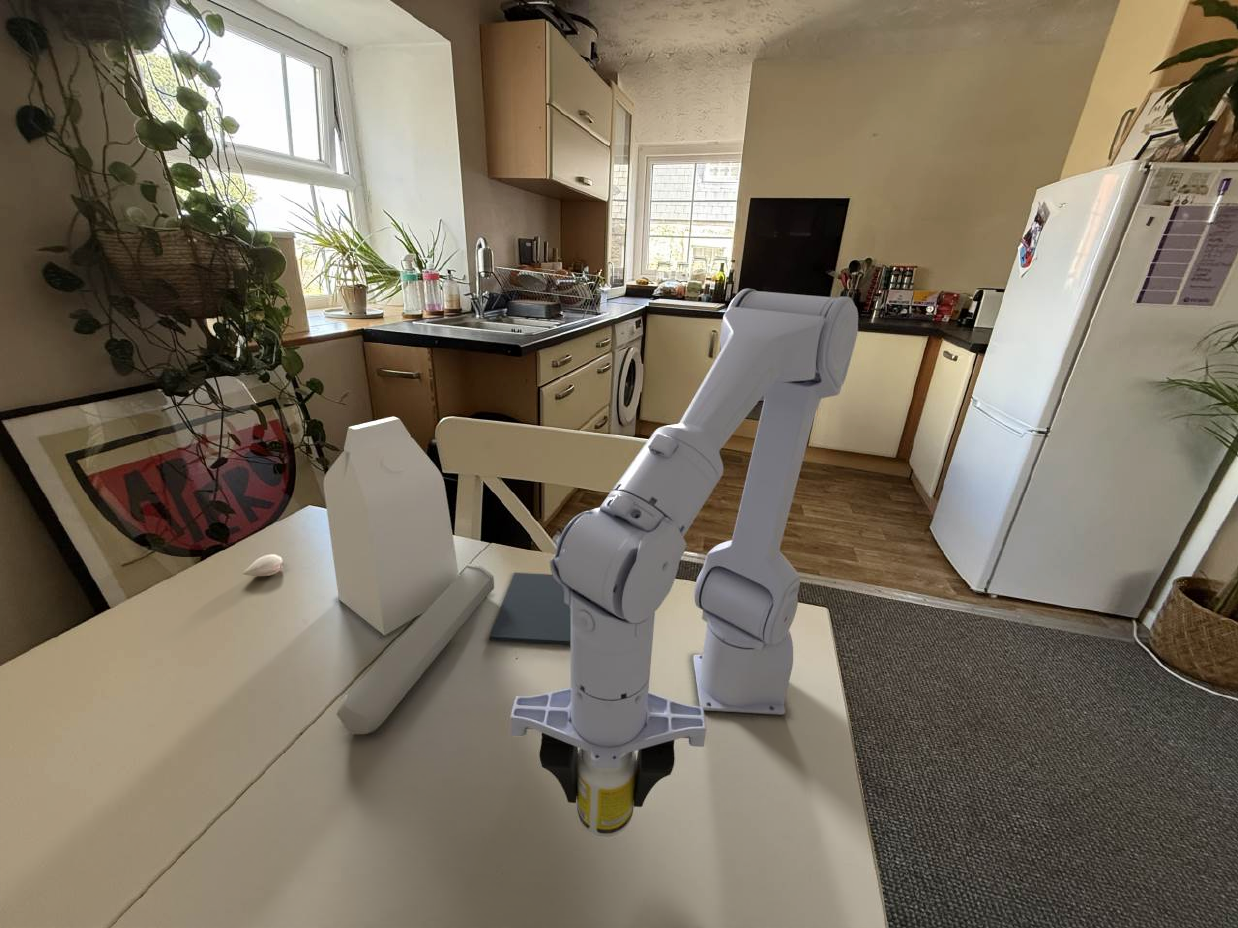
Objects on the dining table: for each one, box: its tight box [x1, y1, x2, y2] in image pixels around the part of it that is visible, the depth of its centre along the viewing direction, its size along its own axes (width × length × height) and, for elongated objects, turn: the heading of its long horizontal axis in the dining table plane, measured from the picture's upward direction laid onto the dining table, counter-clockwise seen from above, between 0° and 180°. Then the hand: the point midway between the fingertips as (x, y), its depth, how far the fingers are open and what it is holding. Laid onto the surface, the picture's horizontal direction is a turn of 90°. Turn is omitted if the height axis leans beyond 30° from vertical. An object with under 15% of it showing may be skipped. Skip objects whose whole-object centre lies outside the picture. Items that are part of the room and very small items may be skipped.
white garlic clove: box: [243, 553, 284, 577], centre depth 74 cm, size 4×5×2 cm
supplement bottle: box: [576, 748, 637, 838], centre depth 40 cm, size 5×5×8 cm
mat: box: [489, 572, 571, 646], centre depth 70 cm, size 14×14×1 cm
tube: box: [336, 563, 495, 735], centre depth 60 cm, size 5×5×25 cm
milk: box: [323, 416, 460, 636], centre depth 66 cm, size 12×12×26 cm
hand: (605, 792), depth 41 cm, fingers closed on supplement bottle, 5 cm apart
